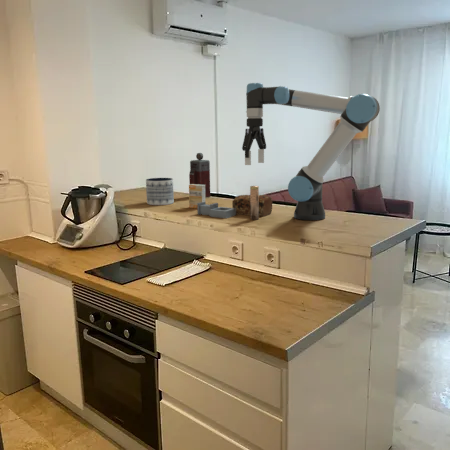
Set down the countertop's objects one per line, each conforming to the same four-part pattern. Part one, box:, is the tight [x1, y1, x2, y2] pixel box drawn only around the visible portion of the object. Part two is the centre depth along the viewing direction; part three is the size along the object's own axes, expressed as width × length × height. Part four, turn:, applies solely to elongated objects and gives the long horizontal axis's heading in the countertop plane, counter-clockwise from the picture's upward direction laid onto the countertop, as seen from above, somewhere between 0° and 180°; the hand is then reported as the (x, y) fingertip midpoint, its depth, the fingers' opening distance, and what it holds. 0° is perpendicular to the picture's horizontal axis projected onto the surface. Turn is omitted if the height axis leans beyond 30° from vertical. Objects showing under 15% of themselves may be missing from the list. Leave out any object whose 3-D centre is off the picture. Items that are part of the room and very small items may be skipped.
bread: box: [231, 194, 273, 217], centre depth 240 cm, size 19×11×10 cm, turn 56°
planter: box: [145, 177, 175, 206], centre depth 276 cm, size 16×16×14 cm
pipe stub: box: [249, 185, 260, 221], centre depth 225 cm, size 4×4×16 cm
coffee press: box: [188, 152, 211, 198], centre depth 296 cm, size 9×11×28 cm
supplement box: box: [188, 183, 206, 209], centre depth 259 cm, size 8×5×13 cm, turn 68°
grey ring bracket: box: [196, 201, 237, 219], centre depth 238 cm, size 10×19×6 cm, turn 58°
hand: (254, 163), depth 220 cm, fingers open, 13 cm apart
